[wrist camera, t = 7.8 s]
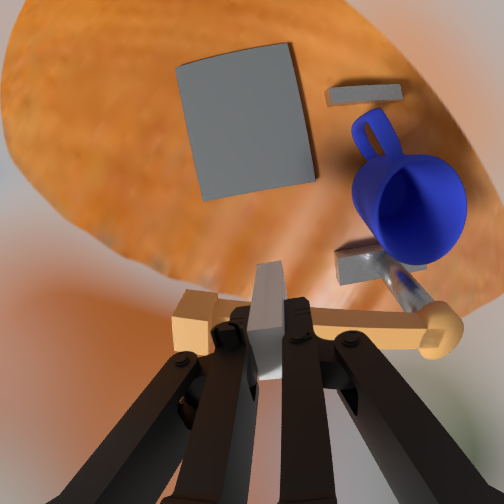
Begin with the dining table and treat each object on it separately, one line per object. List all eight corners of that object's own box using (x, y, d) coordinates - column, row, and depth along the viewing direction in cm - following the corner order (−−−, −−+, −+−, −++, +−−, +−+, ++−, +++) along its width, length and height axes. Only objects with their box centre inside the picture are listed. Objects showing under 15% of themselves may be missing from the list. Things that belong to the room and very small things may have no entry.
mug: (377, 102, 25) (422, 87, 16) (426, 206, 28) (478, 234, 19) (307, 138, 27) (325, 135, 18) (363, 242, 30) (397, 285, 21)
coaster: (176, 69, 25) (174, 67, 25) (287, 44, 24) (287, 42, 23) (204, 200, 30) (203, 201, 29) (314, 180, 28) (315, 181, 28)
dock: (309, 94, 25) (334, 60, 14) (403, 88, 24) (472, 65, 12) (336, 277, 32) (365, 349, 20) (419, 262, 30) (476, 320, 19)
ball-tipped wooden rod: (187, 328, 20) (175, 358, 17) (186, 280, 18) (170, 306, 15) (441, 342, 19) (458, 368, 16) (457, 301, 18) (479, 324, 15)
